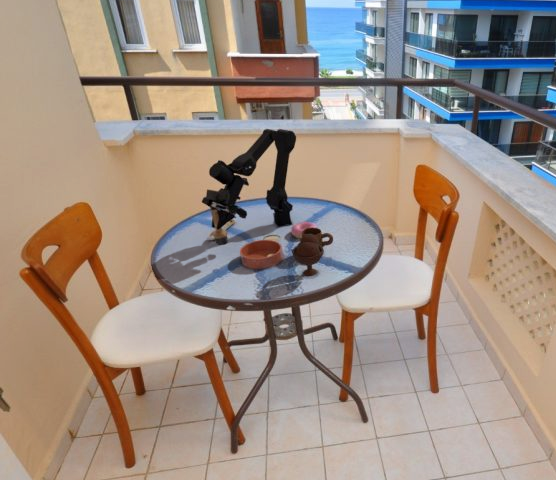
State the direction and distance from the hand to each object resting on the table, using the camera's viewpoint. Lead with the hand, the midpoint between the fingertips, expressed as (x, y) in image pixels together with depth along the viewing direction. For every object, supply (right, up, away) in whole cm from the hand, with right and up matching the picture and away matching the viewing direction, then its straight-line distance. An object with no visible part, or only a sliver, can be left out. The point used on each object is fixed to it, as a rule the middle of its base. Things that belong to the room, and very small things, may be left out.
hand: (215, 228), depth 154 cm
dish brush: (+1, -5, +5) cm, 7 cm away
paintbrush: (-6, +2, +22) cm, 23 cm away
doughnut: (+29, +1, +21) cm, 36 cm away
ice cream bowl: (+36, -17, -5) cm, 41 cm away
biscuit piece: (+21, -11, +3) cm, 24 cm away
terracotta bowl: (+17, -11, +3) cm, 21 cm away
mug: (+38, -9, +7) cm, 39 cm away
